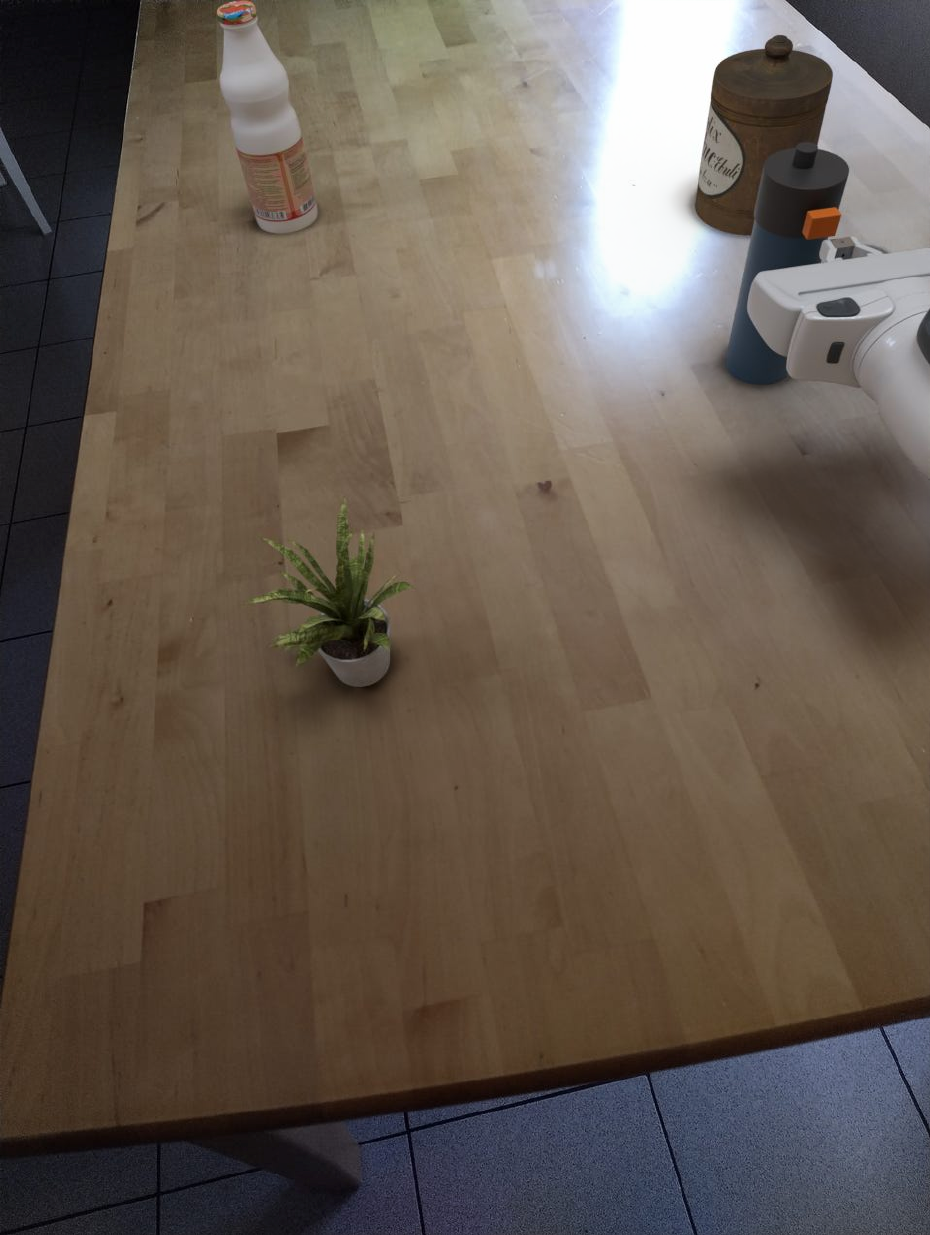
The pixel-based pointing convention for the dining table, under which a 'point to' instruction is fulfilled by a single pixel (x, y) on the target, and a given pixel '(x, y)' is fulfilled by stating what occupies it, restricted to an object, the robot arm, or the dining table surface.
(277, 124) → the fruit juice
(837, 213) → the orange block
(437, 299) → the dining table surface
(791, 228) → the bottle
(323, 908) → the dining table surface
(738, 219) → the wooden container
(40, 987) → the dining table surface
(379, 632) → the house plant
